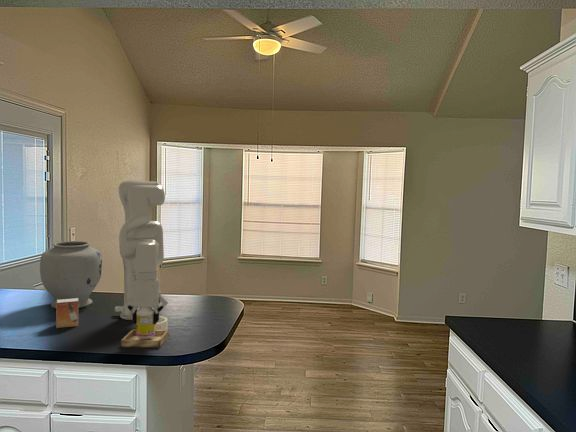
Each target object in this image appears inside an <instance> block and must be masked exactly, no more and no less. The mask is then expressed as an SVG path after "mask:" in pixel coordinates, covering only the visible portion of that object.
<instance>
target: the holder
mask: <svg viewBox="0 0 576 432" xmlns="http://www.w3.org/2000/svg"><path fill="white" fill-rule="evenodd" d="M155 330H169V319H168V318H167V317H166V316H160V315H159V321H158V322H157V323H156V324H155Z"/></svg>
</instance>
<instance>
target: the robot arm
mask: <svg viewBox="0 0 576 432" xmlns="http://www.w3.org/2000/svg"><path fill="white" fill-rule="evenodd" d="M118 195H119V198H120V199H119V200H120V202H121V205H122V207H123V210H124V224H123V225H122V226H121V229H120V231H119V235H118V244H119V254H120V257H121V258H122V267H123V282H124V283H123V285H124V286H123V287H124V288H123V289H124V290H123V291H124V292H123V293H124V295H123V297H124V298H123V300H124V301H123V305H122V306H120V305H119V306H115V307H114V311H115V312H117V313H119V312H121V313H120V314H119V315H120V318H121V319H122V320H127V321H132V322H133V325H136V313H137V310H138V309H140V307H152V308H153V309H154V311H155V313H154V324H156V323H157V322H158V321H159V316H160V312H161V311H162V310H163V309H164V308H165V307H166V306H167V305H168V303H169V302H168V301H167V299H165V298H164V297H163V296H162V294H161V287H160V286H161V284H160V280H159V278H158V266H161V265H163V263H164V259H165V258H164V257H165V255H164V254H165V251H164V231H163V230H164V229H163V226H162V224H161V222H159V221H156V220H153V213H152V206H162V205H163V204H165V200H166V192H165V190H164V187H163V186H162V184H161V183H160V182H158V181H150V180H149V181H146V180H145V181H144V180H126V181H122V182H121V183H119V185H118ZM161 303H162V304H161ZM159 304H161V305H160V306H159Z"/></svg>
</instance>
